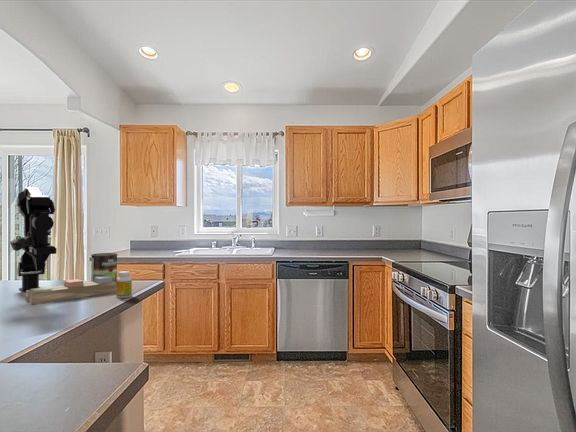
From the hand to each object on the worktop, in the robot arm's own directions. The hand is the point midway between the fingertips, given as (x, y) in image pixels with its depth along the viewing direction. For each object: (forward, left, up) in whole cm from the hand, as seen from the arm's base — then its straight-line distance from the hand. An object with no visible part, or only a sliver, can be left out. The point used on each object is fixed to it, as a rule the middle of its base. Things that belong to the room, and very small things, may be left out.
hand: (38, 271), depth 135 cm
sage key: (+4, -1, -10) cm, 11 cm away
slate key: (+4, +21, -8) cm, 24 cm away
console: (+4, +10, -10) cm, 16 cm away
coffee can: (-7, +26, -11) cm, 29 cm away
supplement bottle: (+18, +23, -11) cm, 32 cm away
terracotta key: (+4, +10, -8) cm, 14 cm away
